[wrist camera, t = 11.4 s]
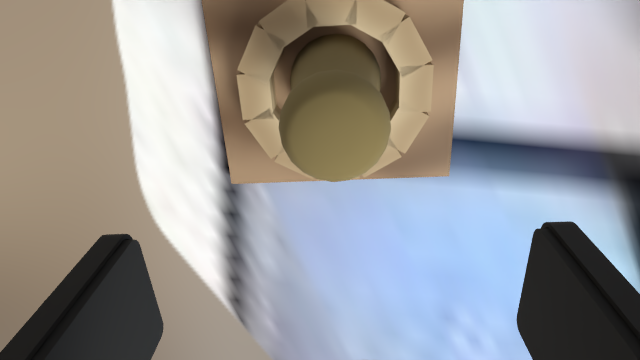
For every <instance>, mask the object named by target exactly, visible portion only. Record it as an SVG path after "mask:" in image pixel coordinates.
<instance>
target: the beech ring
mask: <svg viewBox="0 0 640 360" xmlns="http://www.w3.org/2000/svg"><path fill="white" fill-rule="evenodd" d="M335 25H352V26H354V27H356V28H357V29H359V30H361V31H363V32H365V33H367V34H368V35H370V36H372V37H374V38H376V39H378V40H379V41H381V42H382V43H383V45H384V46H385V48H386V50H387V52H388V53H389V55H390V57H391V59H392V60H393V62H394V64H395V66H396V83H395V100H394V101H393V103H392V105H391V106H390V108H389V112H390V122H391V132H390V136H389V140H388V144H387V147H386V150H385V151H384V153H383V154H382V156H381V158H380V159H379V161H378V162H377V164H375V165H374V166H373V167H372V168H371V169H369V170H368V171H367V172H366V173H365V174H362V176H363V177H364V178H365V177H366V176H368V175H370V174H372V173H374V172H375V171H377V170H379V169H381V168H383V167H384V166H386V165H388V164H390V163H392V162H393V161H395V160H397V159H399V158H401V157H402V156H401V153H400V151H401V152H403V153H406V152H407V150H408V148H409V147H410V145H411V144H412V142H413V141H414V139H415V138H416V136H417V135H418V133H419V131H420V130H421V128H422V127H423V125H424V124H425V122H426V121H427V119H428V118H429V115H428V113H427V112H431V102H432V85H433V68H434V65H433V64H432V63H431V62H430V61H432V58H431V56H430V54H429V52H428V50H427V48H426V47H425V45H424V43H423V41H422V39H421V37H420V35H419V33H418V32H417V30H416V28H415V26H414V24H413V22H412V20H411V18H410V17H409V16H408V15H406V13H405V12H404V11H402V10H401V9H399V8H397V7H395V6H393V5H392V4H390V3H388V2H386V1H385V0H287V1H286V2H284V3H283V4H282V5H280V6H279V7H278V8H276V9H275V10H273V11H272V12H271V13H269V14H268V15H267V16H265V17H264V18H262V19H261V20H260V21H259V23H258V24H257V25H255V28H254V30H253V32H252V35H251V37H250V40H249V42H248V45H247V47H246V49H245V52H244V54H243V57H242V59H241V61H240V64H239V66H238V69H237V70H238V71H240V72H239V73H238V74H237V82H238V89H239V96H240V103H241V111H242V118H243V120H247V121H246V123H245V125H246V127H247V128H248V129H249V131H250V132H251V133H252V135H253V136H254V137H255V139H256V140H257V141H258V142H259V144H260V145H261V146H262V148H263V149H264V150H265V152H266V153H267V154H268V156H269V157H270V158H271V159H272V158H273V157H275V156H276V159H275V162H276V163H278V164H280V165H283V166H285V167H287V168H289V169H291V170H293V171H295V172H298V173H300V174H302V175H304V176H306V177H308V178H310V179H314V177H312V176H309V175H307V174H305V173H303V172H302V171H301V170H300V169H299V168H298V167H297V166H295V165H294V164H293V163H292V162H291V161H290V159H289V157H288V155H287V153H286V152H285V150H284V148H283V146H282V143H281V138H280V133H279V120H280V112H281V109H280V108H279V106H278V105H277V101H276V91H275V81H274V70H275V68H276V66H277V64H278V61H279V59H280V57H281V55H282V53H283V50H284V48H285V46H286V45H288V44H289V43H291V42H292V41H294V40H295V39H297V38H298V37H299V36H301V35H302V34H304V33H305V32H307V31H308V30H310V29H311V28H312V27H318V26H335ZM353 179H360V176H358V177H355V178H353ZM317 181H319V179H317Z"/></svg>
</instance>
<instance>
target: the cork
mask: <svg viewBox="0 0 640 360" xmlns="http://www.w3.org/2000/svg"><path fill="white" fill-rule="evenodd" d="M290 86H291V92H290V93H289V95H288V97H287V99H286V101H285V103H284V105H283V107H282V109H281V112H280V120H279V133H280V138H281V143H282V146H283V148H284V150H285V152H286V153H287V155H288V157H289V159H290V161H291V162H292V163H293V164H294V165H295V166H297V167H298V168H299V169H300V170H301V171H302V172H303V173H305V174H307V175H309V176H312V177H314V178H316V179H319V180H325V181H331V182H337V181H346V180H351V179H353V178H355V177H358V176H360V175H362V174H365V173H366V172H367V171H368V170H369V169H371V168H372V167H373V166H374V165H375V164H377V162H378V161H379V159H380V158H381V156H382V154H383V153H384V151H385V150H386V147H387V144H388V140H389V136H390V132H391V122H390V112H389V110H388V108H387V106H386V103H385V101H384V99H383V96H382V94H381V93H380V87H381V74H380V67H379V64H378V62H377V60H376V57H375V55H374V54H373V52H372V51H371V50H370V49H369V48H368V47H367V46H366V45H365V44H364V43H363V42H361V41H359V40H357V39H356V38H354V37H352V36H348V35H342V34H337V33H336V34H330V35H323V36H320V37H318V38H316V39H314V40H312V41H311V42H309V43H308V44H307V45H306V46H305V47H304V48H303V49H302V50H301V51H300V52H299V53H298V55H297V57H296V59H295V61H294V63H293V65H292V68H291V76H290Z"/></svg>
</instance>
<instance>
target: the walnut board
mask: <svg viewBox="0 0 640 360" xmlns="http://www.w3.org/2000/svg"><path fill="white" fill-rule="evenodd" d="M286 1H287V0H202V6H203V13H204V19H205V25H206V31H207V37H208V43H209V49H210V55H211V61H212V67H213V73H214V79H215V85H216V91H217V97H218V104H219V110H220V116H221V122H222V128H223V134H224V140H225V146H226V152H227V158H228V164H229V170H230V176H231V182H232V184H242V183H270V182H298V181H317V179H316V178H314V179H310V178H308V177H306V176H304V175H302V174H300V173H298V172H295V171H293V170H291V169H289V168H287V167H285V166H283V165H280V164H278V163H276V162H275V159H276V156H275V157H273V158H272V159H271V158H270V157H269V156H268V154H267V153H266V152H265V150H264V149H263V148H262V146H261V145H260V144H259V142H258V141H257V140H256V139H255V137H254V136H253V135H252V133H251V132H250V131H249V129H248V128H247V127H246V125H245V123H246V121H247V120H243V118H242V111H241V103H240V96H239V89H238V82H237V74H238V73H239V72H240V71H238V70H237V69H238V66H239V64H240V61H241V59H242V57H243V54H244V52H245V49H246V47H247V45H248V42H249V40H250V37H251V35H252V32H253V30H254V28H255V25H257V24H258V23H259V21H260V20H261V19H262V18H264V17H265V16H267V15H268V14H269V13H271V12H272V11H273V10H275V9H276V8H278V7H279V6H280V5H282V4H283V3H284V2H286ZM385 1H386V2H388V3H390V4H392V5H393V6H395V7H397V8H399V9H401V10H402V11H404V12H405V13H406V15H408V16H409V17H410V18H411V20H412V22H413V24H414V26H415V28H416V30H417V32H418V33H419V35H420V37H421V39H422V41H423V43H424V45H425V47H426V48H427V50H428V52H429V54H430V56H431V58H432V61H430V62H431V63H432V64H433V65H434V68H433V85H432V102H431V112H427V113H428V115H429V118H428V119H427V121H426V122H425V124H424V125H423V127H422V128H421V130H420V131H419V133H418V135H417V136H416V138H415V139H414V141H413V142H412V144H411V145H410V147H409V148H408V150H407V152H406V153H403V152H401V151H400V153H401V156H402V157H401V158H399V159H397V160H395V161H393V162H392V163H390V164H388V165H386V166H384V167H383V168H381V169H379V170H377V171H375V172H374V173H372V174H370V175H368V176H366V177H365V178H364V177H363V176H362V175H360V179H382V178H410V177H438V176H449V171H450V159H451V147H452V135H453V123H454V111H455V99H456V87H457V75H458V63H459V51H460V39H461V27H462V15H463V3H464V0H385ZM336 33H337V34H342V35H348V36H352V37H354V38H356V39H357V40H359V41H361V42H363V43H364V44H365V45H366V46H367V47H368V48H369V49H370V50H371V51H372V52H373V54H374V55H375V57H376V60H377V62H378V64H379V67H380V74H381V87H380V93H381V94H382V96H383V99H384V101H385V103H386V106H387V108H388V110H389V108H390V106H391V105H392V103H393V101H394V100H395V83H396V66H395V64H394V62H393V60H392V59H391V57H390V55H389V53H388V52H387V50H386V48H385V46H384V45H383V43H382V42H381V41H379V40H378V39H376V38H374V37H372V36H370V35H368V34H367V33H365V32H363V31H361V30H359V29H357V28H356V27H354V26H352V25H335V26H318V27H312V28H311V29H310V30H308V31H307V32H305V33H304V34H302V35H301V36H299V37H298V38H297V39H295V40H294V41H292V42H291V43H289V44H288V45H286V46H285V48H284V50H283V53H282V55H281V57H280V59H279V61H278V64H277V66H276V68H275V70H274V81H275V91H276V101H277V105H278V106H279V108H280V109H282V107H283V105H284V103H285V101H286V99H287V97H288V95H289V93H290V92H291V86H290V76H291V68H292V65H293V63H294V61H295V59H296V57H297V55H298V53H299V52H300V51H301V50H302V49H303V48H304V47H305V46H306V45H307V44H308V43H309V42H311V41H312V40H314V39H316V38H318V37H320V36H323V35H330V34H336ZM351 180H354V179H351ZM319 181H325V180H319Z"/></svg>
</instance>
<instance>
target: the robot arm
mask: <svg viewBox="0 0 640 360" xmlns="http://www.w3.org/2000/svg"><path fill="white" fill-rule="evenodd" d="M517 326H518V330H519V332H520V335H521V337H522V339H523V341H524V343H525V345H526V347H527V349H528V351H529V353H530V355H531V357H532V359H533V360H640V294H639V293H638V292H637V291H636V290H635V288H634V287H633V286H632V285H631V284H630V283H629V282H628V281H627V280H626V279H625V277H624V276H623V275H622V274H621V273H620V272H619V271H618V270H617V269H616V268H615V267H614V265H613V264H612V263H611V262H610V261H609V260H608V259H607V258H606V257H605V256H604V254H603V253H602V252H601V251H600V250H599V249H598V248H597V247H596V246H595V245H594V243H593V242H592V241H591V240H590V239H589V238H588V237H587V236H586V235H585V234H584V233H583V231H582V230H581V229H580V228H579V227H578V226H577V225H576V224H575V223H574V222H546V223H544V224H543V225H542V227H541V229H536V230H535V231H534V234H533V238H532V243H531V248H530V253H529V258H528V263H527V268H526V273H525V278H524V283H523V288H522V293H521V298H520V303H519V308H518V313H517ZM162 333H163V321H162V317H161V314H160V311H159V308H158V304H157V301H156V297H155V294H154V291H153V288H152V284H151V281H150V277H149V274H148V271H147V268H146V264H145V261H144V257H143V254H142V251H141V247H140V244H139V242H138V241H137V240H133V239H132V237H131V236H130V235H128V234H114V235H102V236H101V237H100V238H99V239H98V240H97V242H96V243H95V244H94V245H93V246H92V247H91V248H90V250H89V251H88V252H87V253H86V254H85V255H84V257H83V258H82V259H81V260H80V261H79V262H78V263H77V265H76V266H75V267H74V268H73V269H72V270H71V272H70V273H69V274H68V275H67V276H66V277H65V278H64V280H63V281H62V282H61V283H60V284H59V285H58V286H57V288H56V289H55V290H54V291H53V292H52V293H51V295H50V296H49V297H48V298H47V299H46V300H45V301H44V303H43V304H42V305H41V306H40V307H39V308H38V310H37V311H36V312H35V313H34V314H33V315H32V317H31V318H30V319H29V320H28V321H27V322H26V323H25V325H24V326H23V327H22V328H21V329H20V330H19V332H18V333H17V334H16V335H15V336H14V337H13V339H12V340H11V341H10V342H9V343H8V344H7V345H6V347H5V348H4V349H3V350H2V351H1V352H0V360H151V358H152V356H153V354H154V352H155V349H156V347H157V345H158V343H159V341H160V339H161V336H162Z"/></svg>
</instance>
